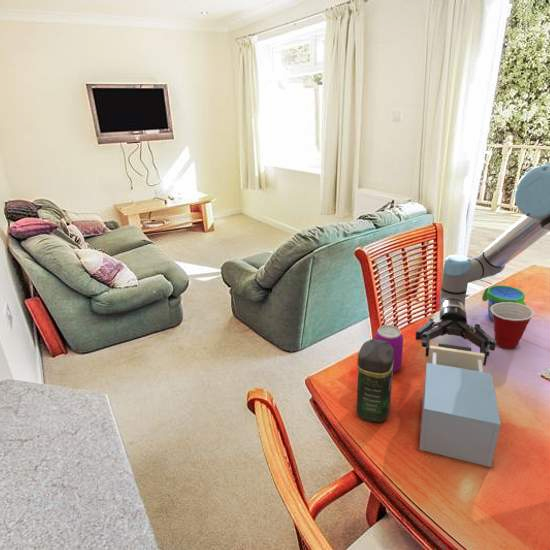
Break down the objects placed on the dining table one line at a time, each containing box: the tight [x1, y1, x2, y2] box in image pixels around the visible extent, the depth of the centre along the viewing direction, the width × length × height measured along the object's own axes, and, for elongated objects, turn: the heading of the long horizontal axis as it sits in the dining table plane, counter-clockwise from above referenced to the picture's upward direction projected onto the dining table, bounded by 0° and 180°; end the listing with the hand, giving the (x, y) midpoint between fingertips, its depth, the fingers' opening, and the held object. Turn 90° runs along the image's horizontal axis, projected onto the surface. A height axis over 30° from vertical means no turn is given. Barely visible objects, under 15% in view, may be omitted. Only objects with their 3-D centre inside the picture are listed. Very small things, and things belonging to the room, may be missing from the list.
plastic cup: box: [490, 302, 535, 350], centre depth 111 cm, size 11×11×12 cm
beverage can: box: [374, 324, 404, 373], centre depth 106 cm, size 8×8×12 cm
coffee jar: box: [355, 338, 394, 423], centre depth 90 cm, size 10×8×19 cm
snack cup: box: [481, 284, 527, 322], centre depth 124 cm, size 16×10×10 cm
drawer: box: [427, 342, 485, 372], centre depth 94 cm, size 20×13×10 cm, turn 158°
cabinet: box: [419, 362, 502, 468], centre depth 83 cm, size 16×14×12 cm
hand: (455, 356), depth 98 cm, fingers open, 13 cm apart
